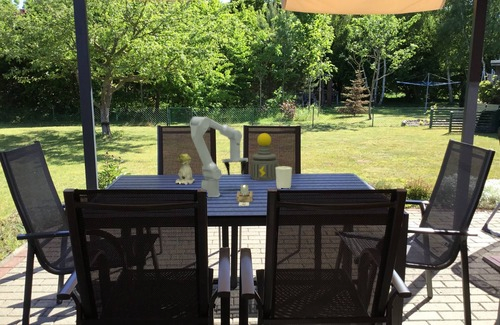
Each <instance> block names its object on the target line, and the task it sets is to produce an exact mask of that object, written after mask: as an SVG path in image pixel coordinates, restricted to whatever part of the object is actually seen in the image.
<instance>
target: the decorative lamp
mask: <svg viewBox="0 0 500 325" xmlns="http://www.w3.org/2000/svg"><path fill="white" fill-rule="evenodd" d="M271 142H272V137H271V136H270V135H269V134H268V133H266V132H264V133H261V134H259V135H258V136H257V144H258V146H259V148H258V151H257V153H254V154H253V155H252V158H251V161H250V163H249V166H250V167H249V168H250V169H249V172H250V177H251V179H252V180H254V181H259V182H260V181H264V182H265V181H267V182H268V181H276V169H275V168H276V167H280V163H279V161H278V159H277V155H276V154H275V153H272V151H271V148H270V145H271Z"/></svg>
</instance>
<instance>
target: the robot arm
mask: <svg viewBox="0 0 500 325" xmlns="http://www.w3.org/2000/svg"><path fill="white" fill-rule="evenodd" d="M189 127H190V136H191V140H192V142H193V144H194V147H195V148H196V151H197V153H198V156H199V159H200V161H201V164H202V166H201V170H202V176H203V177H204V179H202V180H201V185H200V186H201V189H202V188H203V189H206V190H207V192H208V197H207V198H219V197H220V195H221V193H220V185H219V184H220V183H219V182H220V180H221V178H222V170H221V169H220V168H219V166H218V165H217V164H216V163H215V162H214V161H213V159H212V156H211V153H210V151H209V149H208V147H207V144H206V141H205V139H204V135H205V134H206V132H207V130H208V129H209V128H212V129H213V130H216V131H219V134H220V135H222V136H224V137H226V138H227V139H228V140H229V158H223V159H222V161H221V162H222V163H223V164H224V166H225V168H226V171H227V176H230V175H231V174H230V173H231V172H230V169H231V168H230V165H231V164H230V163H240V175H241V176H242V175H244V171H245V168H246V166H247V162H249V158H248V157H241V143H242V142H241V140H242V138H243V134H242V132H241V131H240V130H237V129H235V128H234V127H231V126H229V124H220V123H219V122H217V121H215V120H213V119H212V118H209V117H207V116H192V117H191V119H190V121H189Z"/></svg>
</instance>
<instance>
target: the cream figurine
mask: <svg viewBox="0 0 500 325" xmlns="http://www.w3.org/2000/svg"><path fill="white" fill-rule="evenodd" d="M192 160H193V159H192V158H191V156H190V154H188V153H181V154H179V155H178V157H177V161H178V162H179V163H180V164H182V165H181V166H180V168H179V171H178V177H179V178H177V179H175V184H178V183H179V185H181V184H185V185H188V184H189V185H191V184H192V183H194V181H195V178H193V170H192V168H191V165H190V163H191V161H192Z"/></svg>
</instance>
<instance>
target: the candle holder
mask: <svg viewBox="0 0 500 325" xmlns="http://www.w3.org/2000/svg"><path fill="white" fill-rule="evenodd" d="M275 169H276V179H275V183H276V188H277V189H278V190H282V189H281V188H289V189H291V186H292V176H293V175H292V172H293V167H291V166H279V167H276V168H275Z"/></svg>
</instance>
